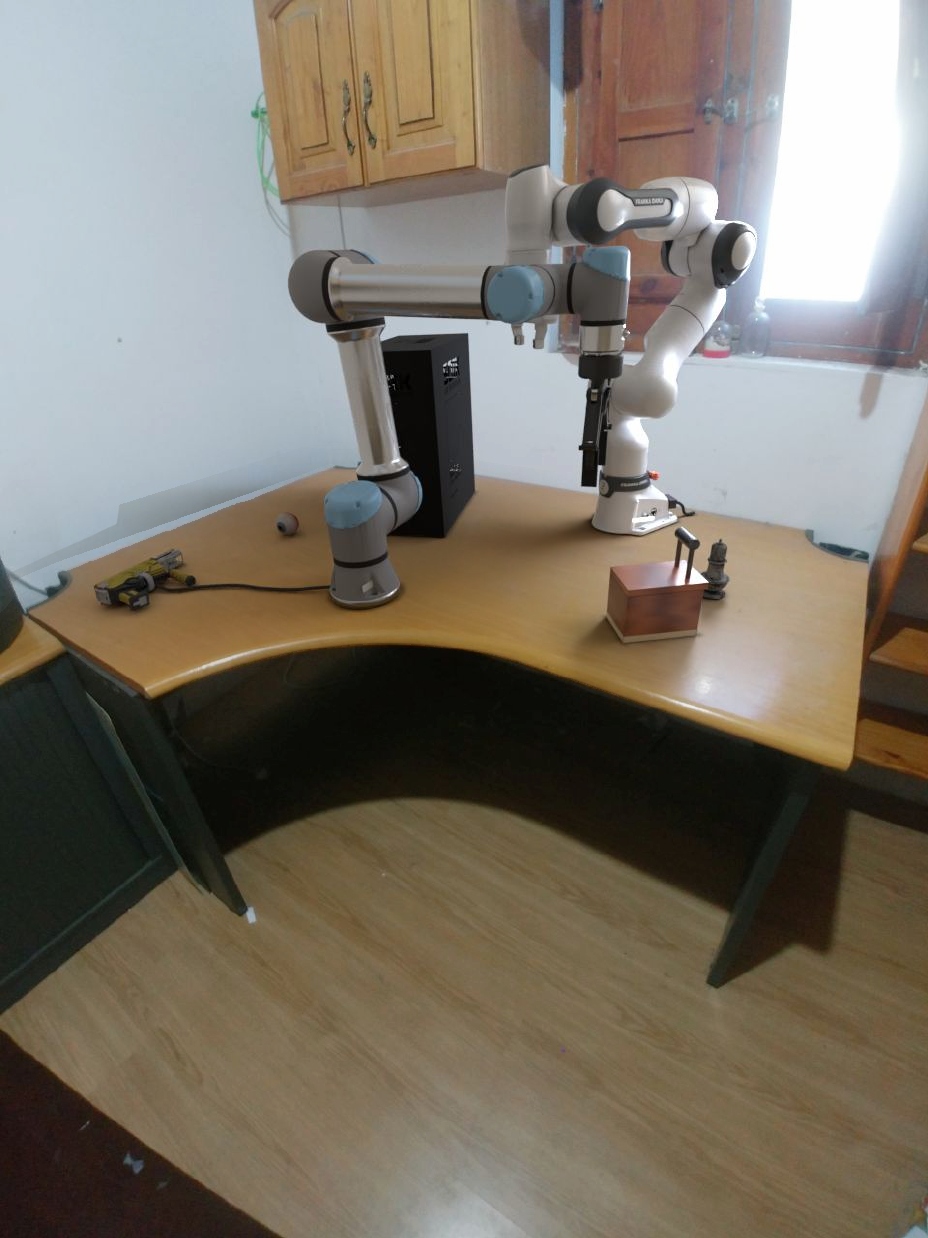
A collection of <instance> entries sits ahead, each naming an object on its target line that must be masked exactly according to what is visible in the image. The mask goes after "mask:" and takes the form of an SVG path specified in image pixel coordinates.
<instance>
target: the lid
mask: <svg viewBox="0 0 928 1238" xmlns="http://www.w3.org/2000/svg"><path fill="white" fill-rule="evenodd" d="M674 537H675V538H676V539H677V543H676V549H675V550H676V551H675V556H674V557H675V558H674V560H671V561H660V562H650V563H647V562H646V563H639V564H637V563H636V564H627V565H617V566H610V567H609V569H610V570H609V575H610V574H611V575H612V577H613V578H614V579H615V581H616V582H617V583H618V585H619V586H620V587H621V589H622V590H623V591H624V593H625V594H626V595H627V596H628V597H631V596H641V595H651V594H661V593H671V592H681V591H691V590H701V589H708V584H709V582H708V581H707V580H706V579H705V578H704V577H703V576H701V575H700V573H699V572H698V570H696V569H695V568H694V567H693V565H694V564H693V563H694V558H695V551H696V550H698V549H699V548H700V546H701V542H700V540H699V539H698V538H697V537H696V536H694V535H693V534H692V533H690V531H688V530H687V529H686V528H685V527H683V526H681V527H678V528H676V529H675V531H674ZM683 545H684V546H685V547H686V548H687V549H688V554H687V555H688V557H687V560H686V559H681V557H682V548H683Z"/></svg>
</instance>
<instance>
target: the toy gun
mask: <svg viewBox="0 0 928 1238" xmlns="http://www.w3.org/2000/svg"><path fill="white" fill-rule="evenodd" d="M179 557H181V560H177V558H179ZM183 564H184V558H183V552H182V551H181V550H179V549H174V548H171V549H169V550H167V551H164V552H163V553H161V554H159V555H156V556H155V557H150V558H148V559H146V560H144V561H142V562H139V563H138V564H135V565H133V566H131V567H129V568H127V569H125V570H122V571H120V572H118V573H116V574H113V575H112V576H110V577H108V578H106V579H104V580H101V581H99V582H97V583H95V584H93V590H94V594H95V598H96V600H97V603H99V604H100V605H101V606H105V607H107V606H117V605H121V604H127V605H128V606H129V607H130V611H131V612H136V611H138V610H141V609H143V608H145V607H147V606H148V607H149V606H150V599H149V595H148V593H149V592H151V591H154V590H155V588H154V587H155V585H154V584H158V585H160V584H161V583H164V582H165V581H168V579H171V580H174V581H177V582H178V583H182V584H183V585H184V584H185V585H186V586H187V587H192V586H196V584H197V578H196V576H194V575H192V574H188V573H186V572H184V571H180V570H179V569H176V568H177V567H180V565H183Z"/></svg>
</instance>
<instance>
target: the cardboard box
mask: <svg viewBox="0 0 928 1238" xmlns="http://www.w3.org/2000/svg"><path fill="white" fill-rule="evenodd" d="M380 341H381V346H382V352H383V358H384V364H385V370H386V376H387V382H388V387H389V393H390V399H391V405H392V411H393V417H394V423H395V429H396V434H397V440H398V446H399V452H400V456H401V457H402V458H403V459H405V460H406V461H407V462H408V464H409V469H410V471H412V472H413V475H414V476H415V477H417V478H418V480H419V482H420V484H421V488H422V501H421V505H420V507H419V509H418V510H417V512H416V513H415V514H414V515H413V516H412V517H411V518H410V519H409V520H408V521H406V522H405V523H402V524H401V525H400V526H398V527H397V528H396V529H394V530H393V531H392V532H390V533H389V534H387V535H386V536H403V537H404V536H405V537H428V538H429V537H430V538H431V537H432V538H446V536H447V534H448V533H449V531H450V530H451V528H452V527H453V525H454V524H455V523H456V521H457V520H458V518H459V517H460V515H461V513H462V512H463V510H464V509H465V507H466V506H467V504H468V503H469V501H470V500H471V499H472V497H473V495H474V494H475V492H476V482H475V480H476V477H475V459H474V457H475V455H474V432H473V412H472V410H473V409H472V388H471V387H472V386H471V367H470V366H471V365H470V364H471V363H470V344H469V343H470V342H469V341H470V340H469V332H462V333H461V332H460V333H459V332H458V333H457V332H455V333H434V334H433V333H432V334H407V335H406V334H405V335H404V334H403V335H396V336H393V337H390V338H387V339H384V340H380ZM449 363H450V364H449Z"/></svg>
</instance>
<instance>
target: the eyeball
mask: <svg viewBox="0 0 928 1238" xmlns="http://www.w3.org/2000/svg"><path fill="white" fill-rule="evenodd" d="M299 525H300V522H299V519H298V517H297V516H296V515H295V514H294V513H292V512H287V511H286V512H282V513H280V514H279V515H278V516H277V517H276V520H275V527H276V529H277V530H278V531H279V532H280V533H281V534H282V535H285V536H286V535H287V536H289V535H293V534H295V533H296V532H297V531H298V529H299Z"/></svg>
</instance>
